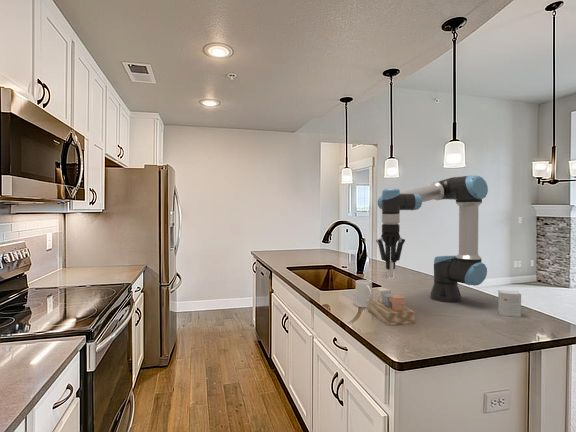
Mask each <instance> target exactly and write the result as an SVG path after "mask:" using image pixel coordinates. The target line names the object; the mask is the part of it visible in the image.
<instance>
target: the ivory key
mask: <svg viewBox="0 0 576 432" xmlns="http://www.w3.org/2000/svg"><path fill="white" fill-rule="evenodd" d="M383 294H392V290H391V289H388V288H387V287H383V288H382V287H380V288H376V295H378V300H379V302H380V303H381V304H384V303H385V301H384V300H383Z"/></svg>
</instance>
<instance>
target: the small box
mask: <svg viewBox="0 0 576 432" xmlns="http://www.w3.org/2000/svg"><path fill="white" fill-rule="evenodd" d="M497 292H498V293H497V294H498V302H497V303H498V304H497V306H498V307H497V308H498V309H497V310H498V312H497V313H499V314H500V317H501V316H504V317H516V318H521V317H522V294H521V293H520V292H519V291H516V290H515V291H514V290H503V289H501V290H498V291H497Z"/></svg>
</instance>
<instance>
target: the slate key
mask: <svg viewBox="0 0 576 432" xmlns="http://www.w3.org/2000/svg"><path fill="white" fill-rule="evenodd" d="M389 295H395V294H394V293H391V294H383V300H384V301H385V306H386V307H388V308H389V307H392V302H390V301H389Z"/></svg>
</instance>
